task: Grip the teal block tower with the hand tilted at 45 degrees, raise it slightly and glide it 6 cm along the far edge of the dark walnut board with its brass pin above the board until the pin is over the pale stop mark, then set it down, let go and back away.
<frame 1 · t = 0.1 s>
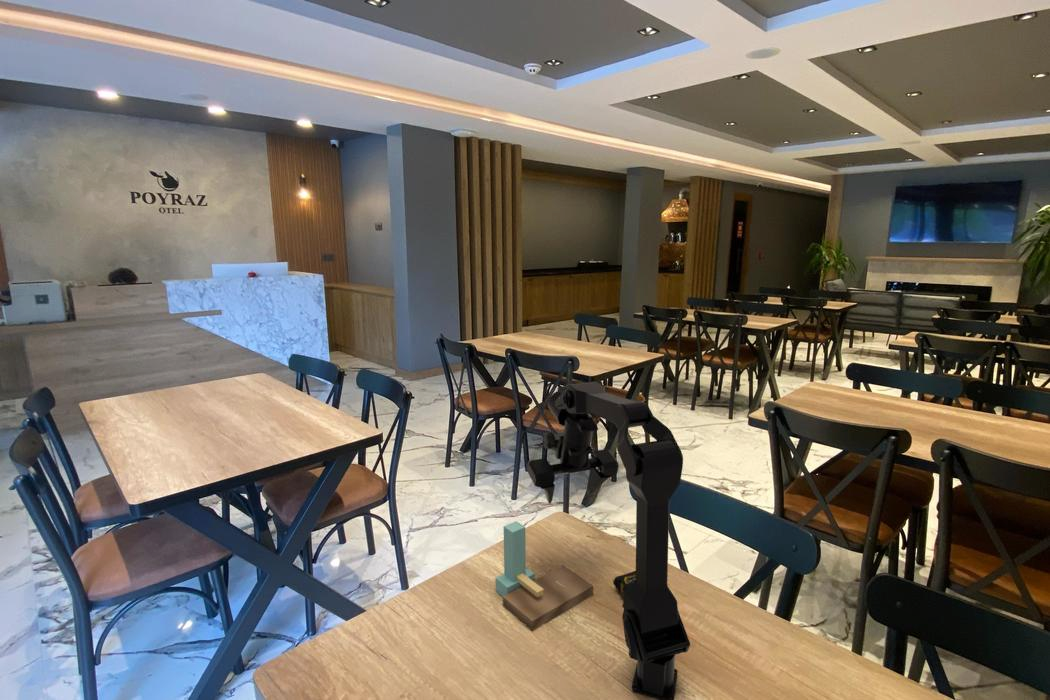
hand: (568, 498, 115), 15 cm above the table, fingers open, 9 cm apart
tape measure: (633, 594, 108), on the table
teal block tower: (515, 588, 109), on the table
board: (548, 599, 106), on the table
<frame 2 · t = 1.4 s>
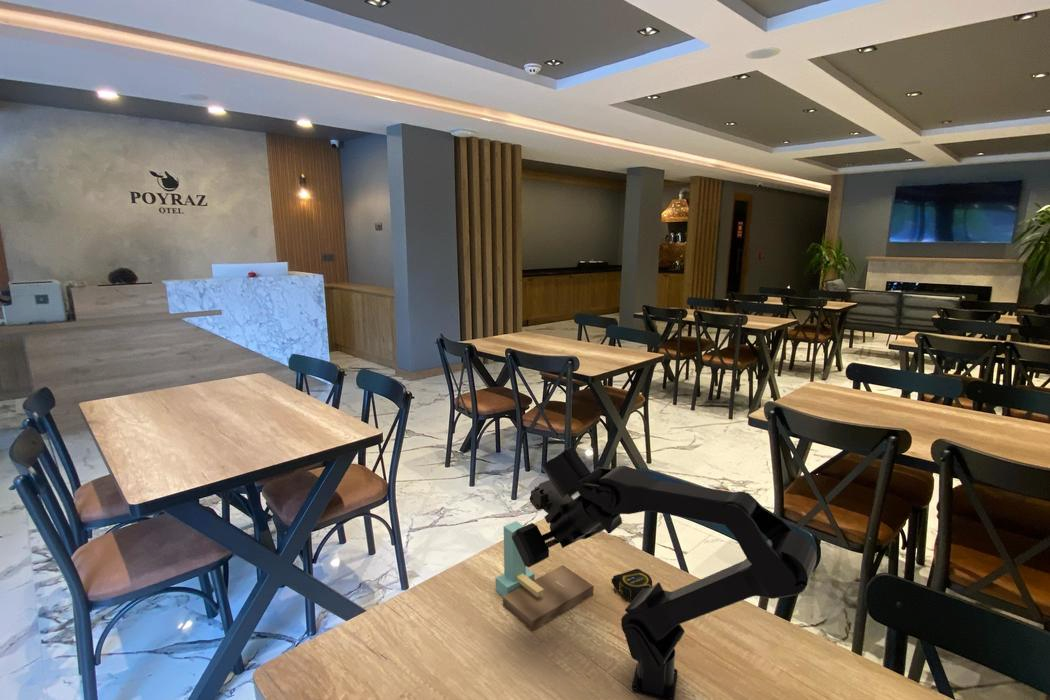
hand: (540, 546, 101), 13 cm above the table, fingers open, 9 cm apart
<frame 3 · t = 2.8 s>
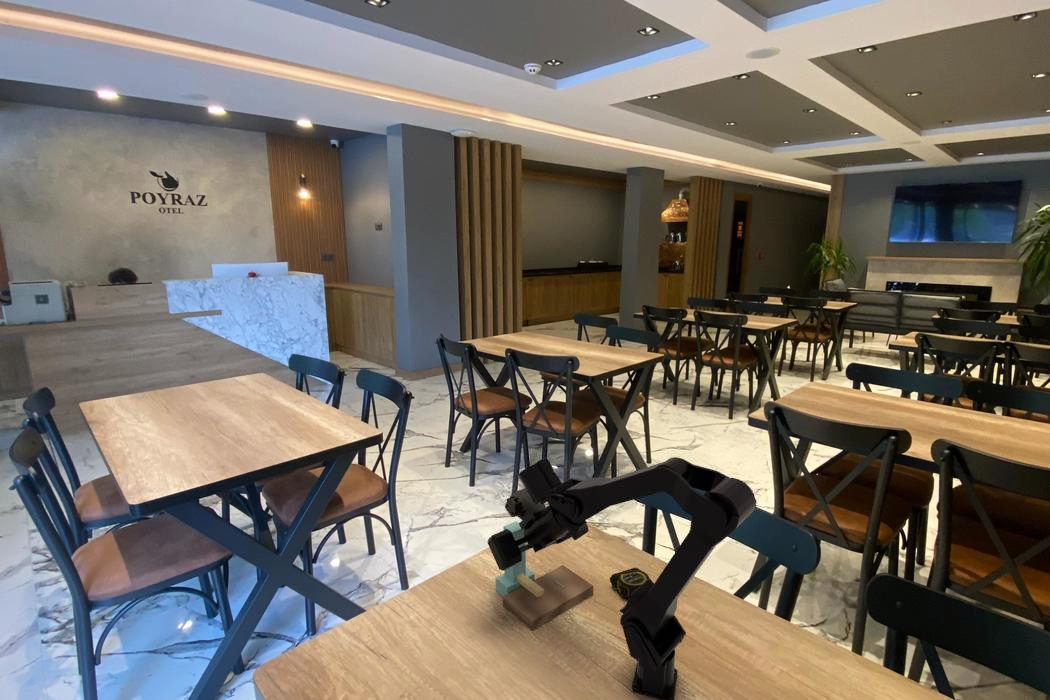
hand: (516, 550, 107), 9 cm above the table, fingers open, 9 cm apart
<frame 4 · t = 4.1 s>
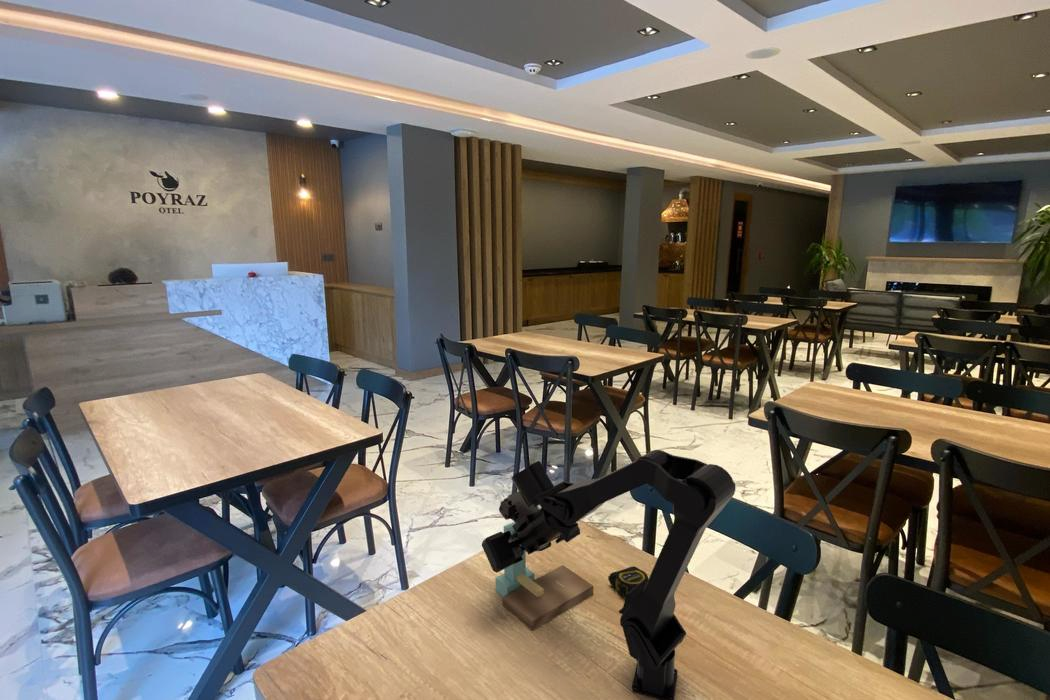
hand: (510, 552, 109), 8 cm above the table, fingers closed on teal block tower, 3 cm apart
teal block tower: (515, 588, 109), on the table, touching gripper
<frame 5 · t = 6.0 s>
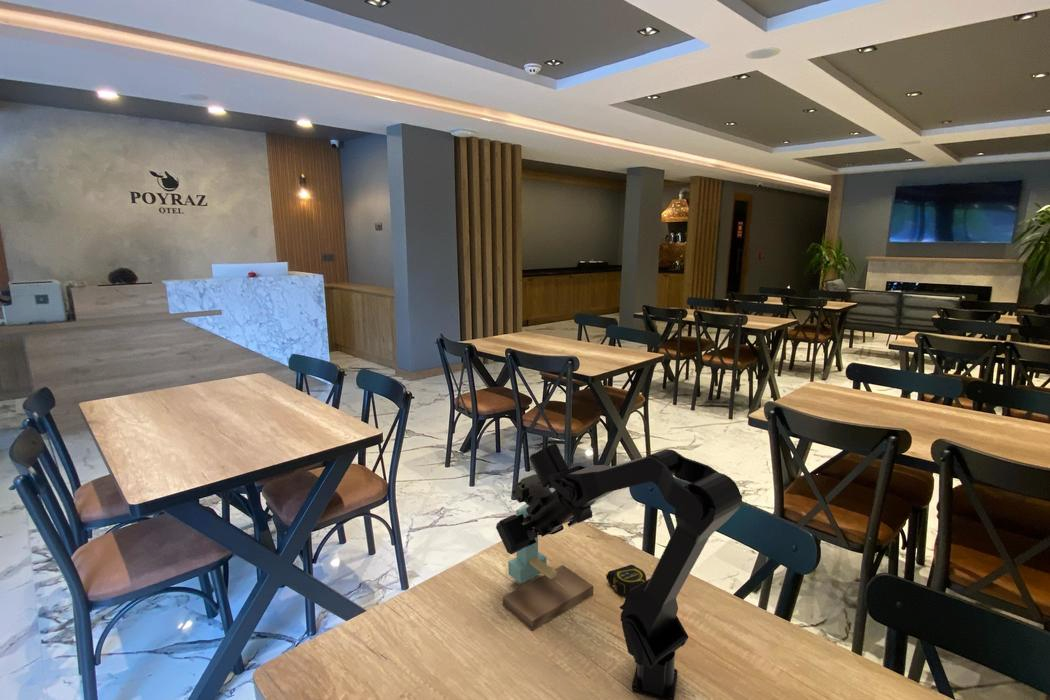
hand: (523, 536, 110), 10 cm above the table, fingers closed on teal block tower, 3 cm apart
teal block tower: (527, 572, 111), point 2 cm above the table, touching gripper
when the fingers open (8 cm above the table, at t = 8.1 s): teal block tower stays where it is, on the table.
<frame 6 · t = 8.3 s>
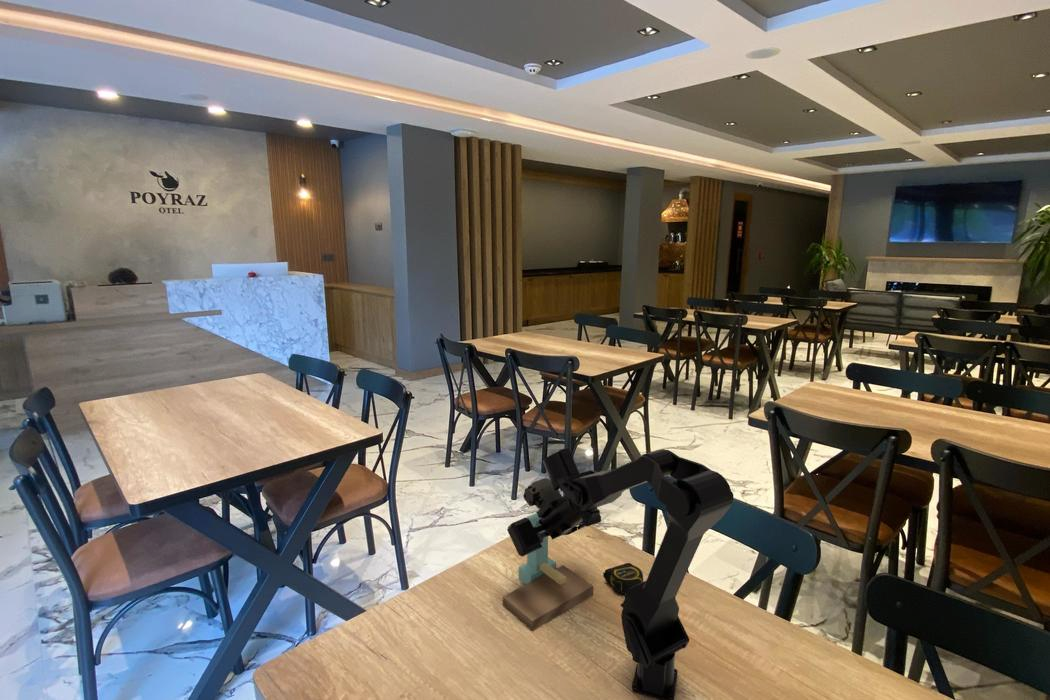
hand: (533, 538, 112), 8 cm above the table, fingers open, 6 cm apart
teal block tower: (537, 577, 113), on the table
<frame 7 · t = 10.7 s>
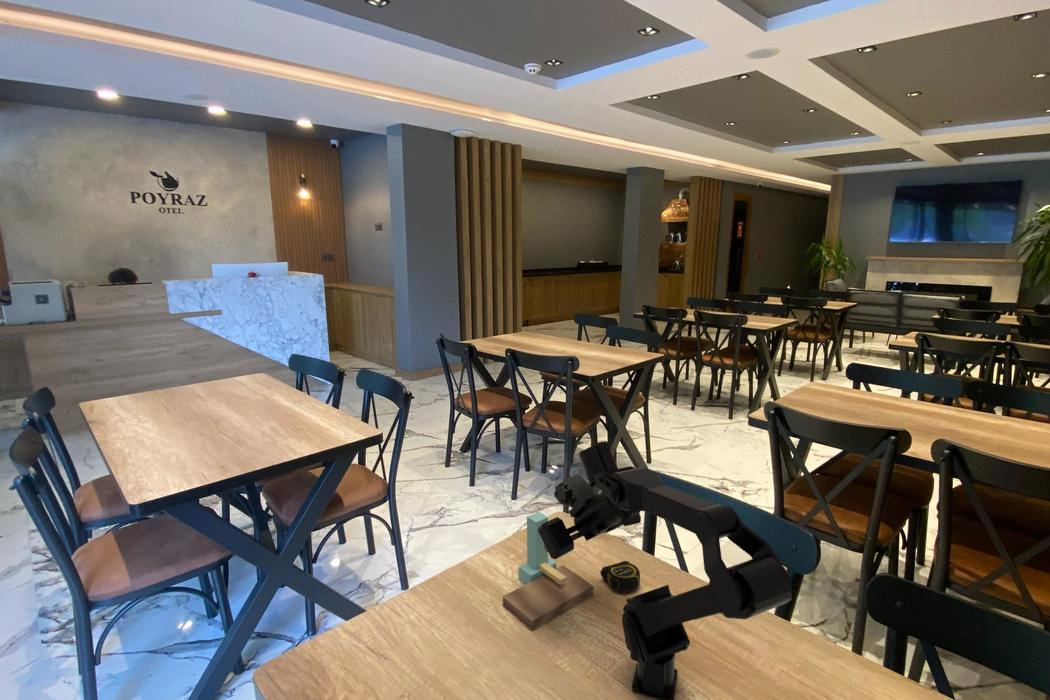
hand: (562, 539, 105), 12 cm above the table, fingers open, 9 cm apart
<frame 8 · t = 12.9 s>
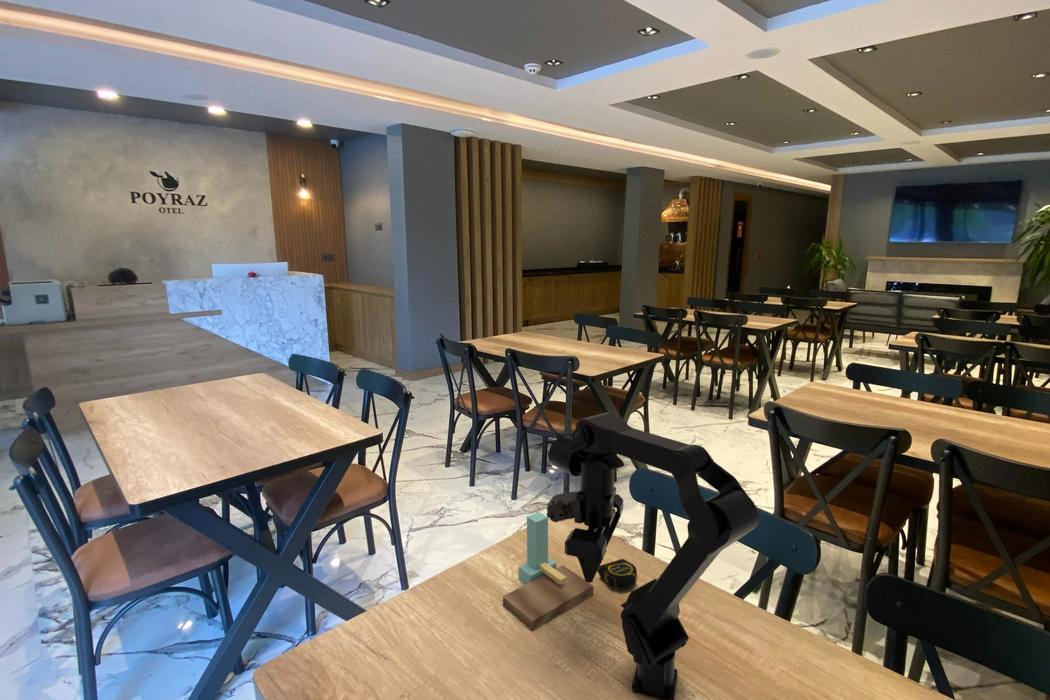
hand: (595, 566, 95), 13 cm above the table, fingers open, 9 cm apart
at the end: teal block tower 0.0 cm from the target spot, on the table; teal block tower tilted 0°; the gripper is holding nothing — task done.
